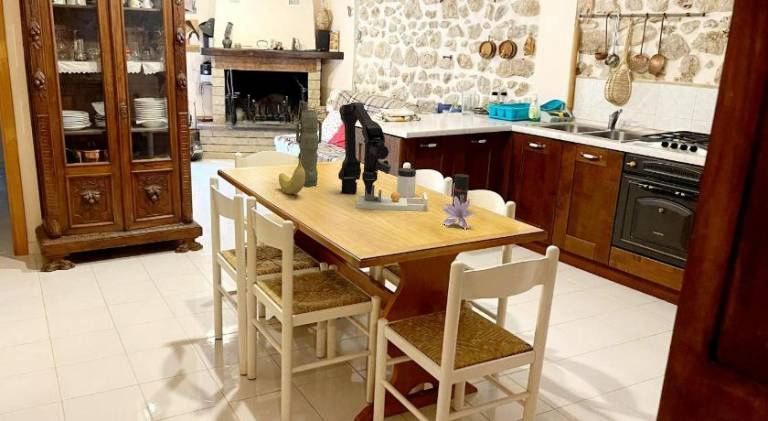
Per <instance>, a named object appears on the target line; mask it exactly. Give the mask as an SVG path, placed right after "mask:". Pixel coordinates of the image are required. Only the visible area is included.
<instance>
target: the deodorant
mask: <svg viewBox="0 0 768 421" xmlns="http://www.w3.org/2000/svg"><path fill="white" fill-rule="evenodd" d="M469 181H470V175H468V174H462V173H456V174H454V182H453V192H452V203H451V205H453V206H454V197H455V196H456V197H457V198H458V199H459V202H460V205H461V204H462V203H465V202H466V201H467V200H468V192H469ZM454 207H455V206H454Z"/></svg>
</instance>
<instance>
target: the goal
mask: <svg viewBox="0 0 768 421" xmlns="http://www.w3.org/2000/svg"><path fill="white" fill-rule="evenodd" d="M428 203H429V202H428V196H427V193H426V192H423V193H422V197H409V198H408V197H407V211H415V212H416V211H418V212H419V211H420V212H427V211H428Z"/></svg>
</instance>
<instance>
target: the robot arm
mask: <svg viewBox="0 0 768 421" xmlns="http://www.w3.org/2000/svg"><path fill="white" fill-rule="evenodd" d="M338 112H339V115H340V116H339V117H340V120H341V122H342V123H343V125H344V151H345V152H344V159H343V161H342V163H341V167H340V170H339V171H338V174H337V175H338V176H337V177H338V179H339V180H340V181H341V190H340V194H345V195H355V194H356V193H357V192H358V182H357V181H358V180H360V179H362V182H363V184H364V188H365V187H366V190H367V193H368V194H371V190H372V186H373V185H374V183H375V182H377V181H378V177H379V176H378V174H379V171H380V172H382V173H385V174H386V175H389V173H390V171H391V169H392V165H391V164H389V160H386V158H388V156H389V153H390V152H389V148H388V147H387V146H386V145H385V144H386V137H385V133H384V132H383V131H384V130H383V129H382V127H381V124H379V123H378V122H376V121H374V120H373V119H372V118H371V116H370V114H369V113H368V111H367V110H366V109H365V105H364V103H363V102H359V101H357V102H356V101H355V102H354V101H353V102H351V103H348V104H342V105H341V106H340V107H339V111H338ZM358 122H359V124H360V125H361V133H362V138H364V140H363V143H364V154H363V157H364V158H363V172H362V167H361V161H360V160H358V158H357V143H356V140H357V138H356V136H357V135H356V124H357V123H358ZM381 160H384V161H381ZM361 175H362V176H361Z"/></svg>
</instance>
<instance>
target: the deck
mask: <svg viewBox="0 0 768 421" xmlns="http://www.w3.org/2000/svg"><path fill="white" fill-rule="evenodd" d="M374 197H378V196H375V195H374ZM364 198H365V195H357V200H356V209H365V210H367V209H368V210H382V211H383V210H386V211H405V212H407V211H408V210H407V198H405V197H400V199H399V200H398V201H393V200H392V199H391V196H390V197H389V196H381V202H378V201H377V200H374V201H365V200H364Z"/></svg>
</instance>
